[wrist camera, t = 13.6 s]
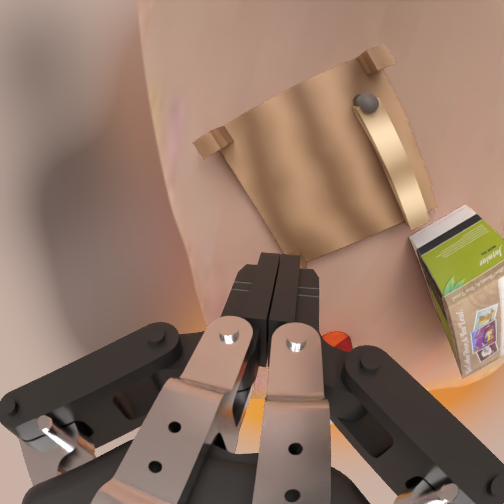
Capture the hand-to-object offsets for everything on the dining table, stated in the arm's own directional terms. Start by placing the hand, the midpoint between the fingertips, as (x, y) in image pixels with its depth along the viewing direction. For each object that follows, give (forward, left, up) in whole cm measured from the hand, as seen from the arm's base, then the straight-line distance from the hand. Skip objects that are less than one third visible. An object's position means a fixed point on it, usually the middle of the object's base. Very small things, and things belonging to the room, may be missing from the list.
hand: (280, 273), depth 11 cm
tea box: (-14, +22, -23) cm, 35 cm away
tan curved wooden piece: (-9, +4, -21) cm, 23 cm away
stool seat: (-3, +2, -23) cm, 23 cm away
